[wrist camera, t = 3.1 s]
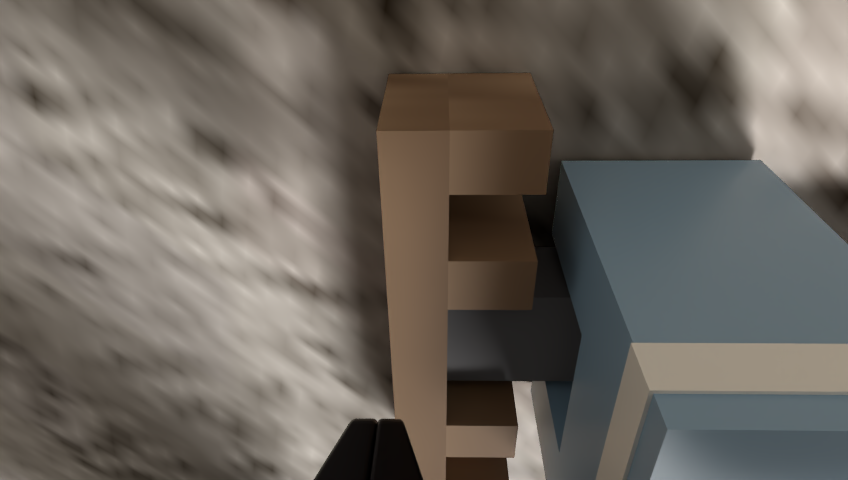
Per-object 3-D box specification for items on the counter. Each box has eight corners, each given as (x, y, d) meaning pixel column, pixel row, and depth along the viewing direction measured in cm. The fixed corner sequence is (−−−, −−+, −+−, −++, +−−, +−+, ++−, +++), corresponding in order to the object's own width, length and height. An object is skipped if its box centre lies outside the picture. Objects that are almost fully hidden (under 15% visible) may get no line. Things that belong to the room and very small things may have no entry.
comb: (406, 428, 15) (401, 515, 13) (388, 74, 10) (376, 131, 8) (497, 428, 15) (507, 517, 13) (530, 72, 10) (553, 130, 8)
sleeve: (528, 392, 14) (576, 681, 9) (558, 158, 10) (663, 426, 6) (681, 392, 14) (812, 684, 9) (763, 157, 10) (1052, 429, 6)
